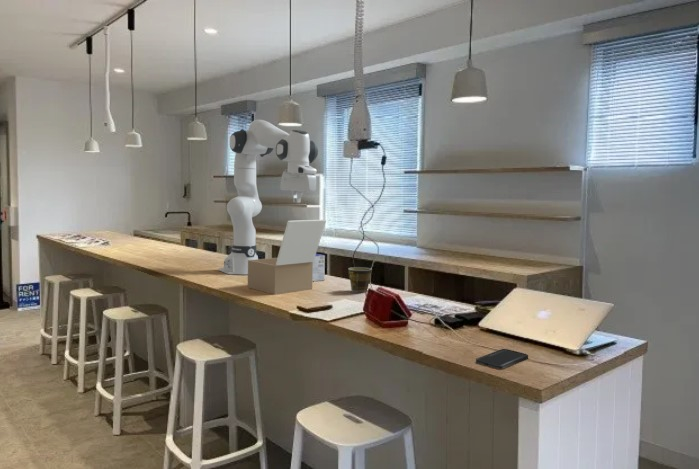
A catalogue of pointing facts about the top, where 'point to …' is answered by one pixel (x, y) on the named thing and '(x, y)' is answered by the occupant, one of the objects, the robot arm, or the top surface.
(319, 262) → the ink cartridge box
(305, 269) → the carton
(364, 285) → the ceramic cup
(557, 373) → the top surface
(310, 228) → the lid flap
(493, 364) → the phone
